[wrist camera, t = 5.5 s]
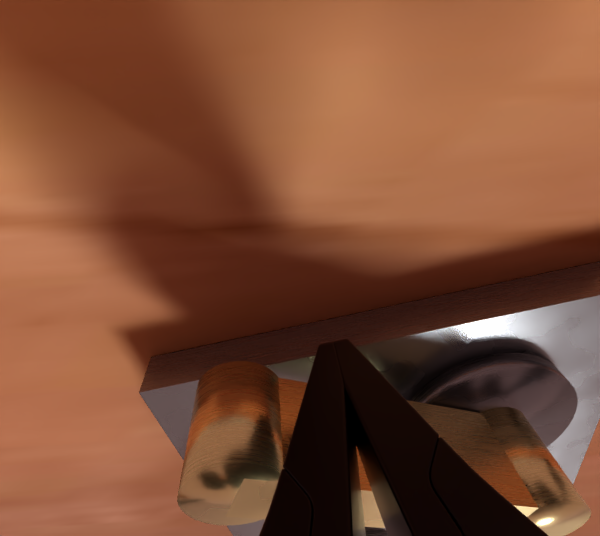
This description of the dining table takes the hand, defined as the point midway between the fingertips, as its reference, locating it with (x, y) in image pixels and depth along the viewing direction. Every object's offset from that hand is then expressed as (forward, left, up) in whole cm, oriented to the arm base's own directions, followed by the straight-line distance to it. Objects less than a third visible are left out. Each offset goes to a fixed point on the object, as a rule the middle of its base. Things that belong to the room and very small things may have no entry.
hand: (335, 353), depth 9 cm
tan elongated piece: (-5, +6, -1) cm, 8 cm away
